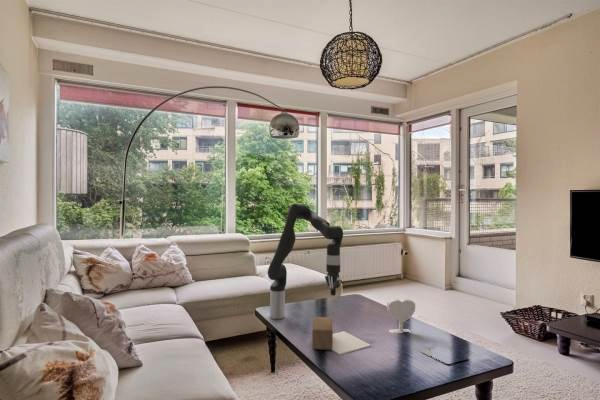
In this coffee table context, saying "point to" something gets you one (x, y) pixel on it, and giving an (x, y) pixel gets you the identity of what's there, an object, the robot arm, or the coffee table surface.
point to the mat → (347, 343)
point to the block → (322, 333)
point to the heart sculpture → (401, 312)
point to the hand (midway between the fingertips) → (333, 295)
